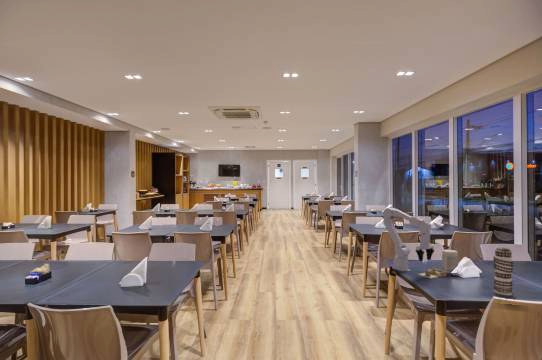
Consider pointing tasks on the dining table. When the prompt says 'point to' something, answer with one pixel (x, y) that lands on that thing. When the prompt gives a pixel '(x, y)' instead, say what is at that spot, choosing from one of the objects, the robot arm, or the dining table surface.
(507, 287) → the decorative candle
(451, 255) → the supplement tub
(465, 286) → the dining table surface
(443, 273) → the box
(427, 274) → the lid
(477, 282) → the dining table surface
